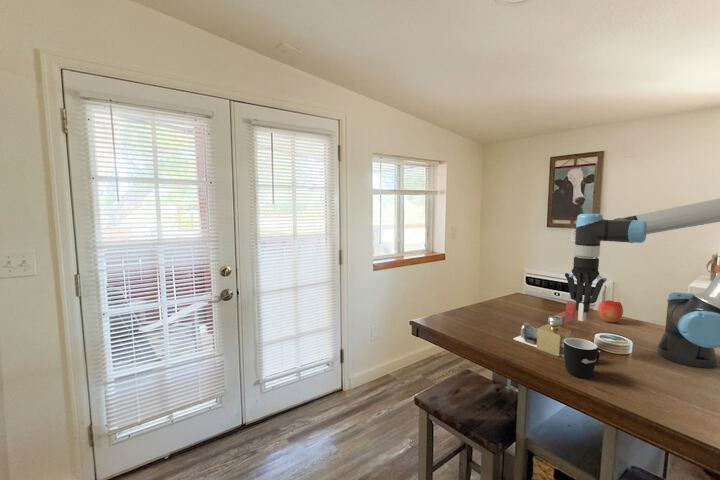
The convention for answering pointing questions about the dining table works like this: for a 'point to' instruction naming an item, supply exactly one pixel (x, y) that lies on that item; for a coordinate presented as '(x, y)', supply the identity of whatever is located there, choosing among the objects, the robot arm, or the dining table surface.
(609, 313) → the apple
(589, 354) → the mug
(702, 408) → the dining table surface
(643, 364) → the dining table surface
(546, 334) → the valve
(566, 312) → the lever
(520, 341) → the board
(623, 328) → the dining table surface
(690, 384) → the dining table surface
